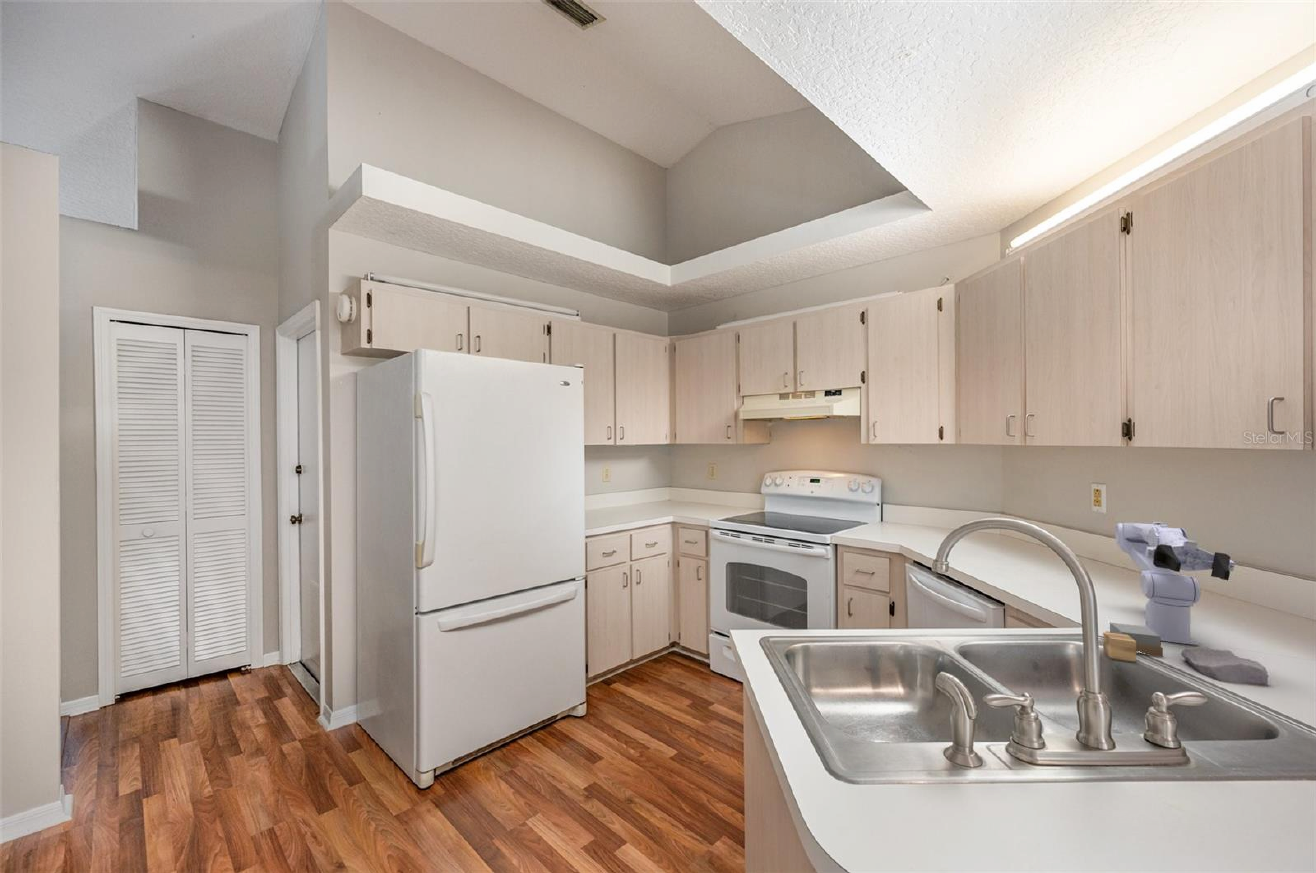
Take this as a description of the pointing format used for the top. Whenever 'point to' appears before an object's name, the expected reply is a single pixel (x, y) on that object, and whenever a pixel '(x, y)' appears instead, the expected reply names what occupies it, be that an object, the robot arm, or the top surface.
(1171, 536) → the robot arm
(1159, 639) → the top slab
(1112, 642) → the oak cube
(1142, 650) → the bottom slab
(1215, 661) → the stone block
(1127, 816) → the top surface
